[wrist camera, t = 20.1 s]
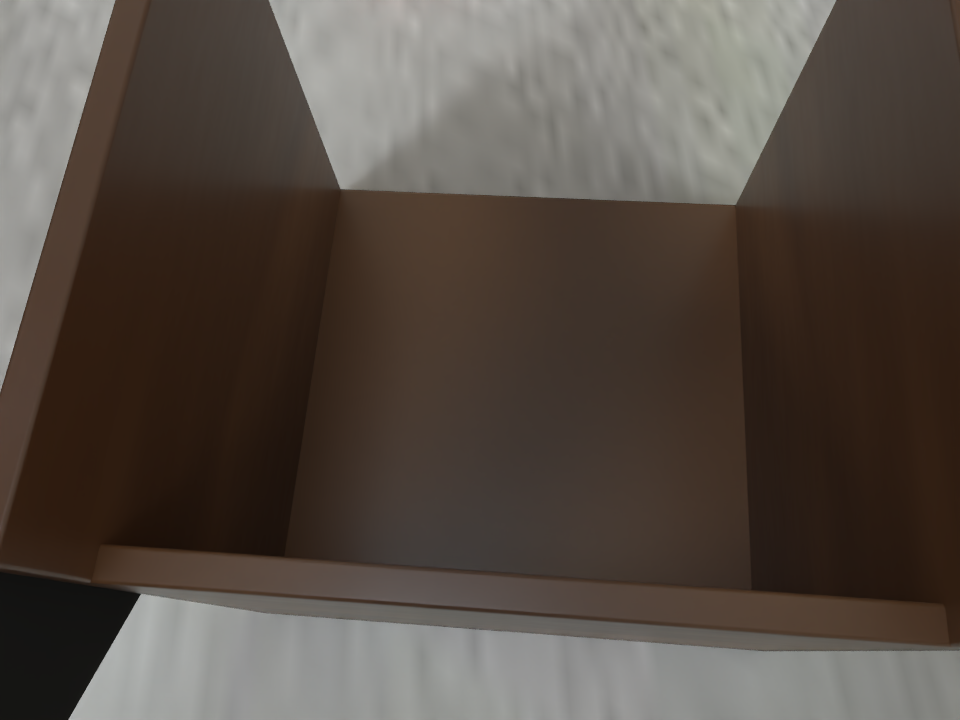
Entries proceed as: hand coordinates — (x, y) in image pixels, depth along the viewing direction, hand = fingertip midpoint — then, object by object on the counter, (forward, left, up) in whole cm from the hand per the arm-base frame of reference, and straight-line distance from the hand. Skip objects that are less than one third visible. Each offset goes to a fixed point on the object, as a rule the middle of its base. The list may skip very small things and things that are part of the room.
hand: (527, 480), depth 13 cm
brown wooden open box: (-1, +4, -6) cm, 7 cm away
